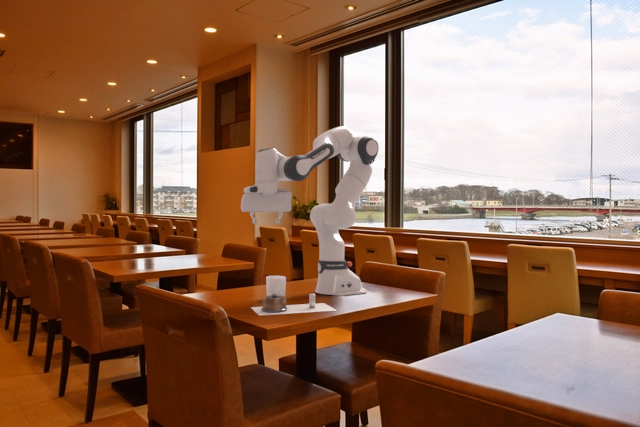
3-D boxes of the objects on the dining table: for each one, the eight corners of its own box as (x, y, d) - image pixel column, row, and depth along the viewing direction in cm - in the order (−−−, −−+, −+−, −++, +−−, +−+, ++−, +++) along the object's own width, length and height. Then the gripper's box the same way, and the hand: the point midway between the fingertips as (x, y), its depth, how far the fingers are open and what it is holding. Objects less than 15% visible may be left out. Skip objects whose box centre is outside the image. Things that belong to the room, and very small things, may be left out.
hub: (283, 306, 186) (283, 291, 186) (290, 311, 177) (290, 295, 177) (258, 308, 183) (259, 292, 183) (264, 313, 174) (264, 296, 174)
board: (323, 306, 194) (323, 303, 194) (337, 314, 181) (337, 310, 181) (250, 311, 185) (250, 307, 184) (259, 319, 171) (259, 315, 171)
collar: (271, 305, 184) (271, 294, 184) (286, 307, 182) (286, 296, 182) (262, 308, 179) (262, 297, 179) (277, 310, 176) (277, 299, 176)
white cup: (290, 302, 202) (290, 277, 202) (275, 305, 196) (275, 279, 196) (276, 299, 208) (276, 274, 207) (261, 302, 202) (261, 276, 202)
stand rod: (314, 306, 186) (314, 293, 186) (316, 308, 184) (316, 294, 184) (308, 307, 186) (308, 293, 185) (310, 308, 183) (310, 294, 183)
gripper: (289, 189, 211) (289, 222, 211) (239, 188, 204) (239, 223, 204) (293, 188, 205) (293, 223, 205) (243, 188, 198) (242, 224, 198)
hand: (266, 223), depth 205 cm, fingers open, 8 cm apart
